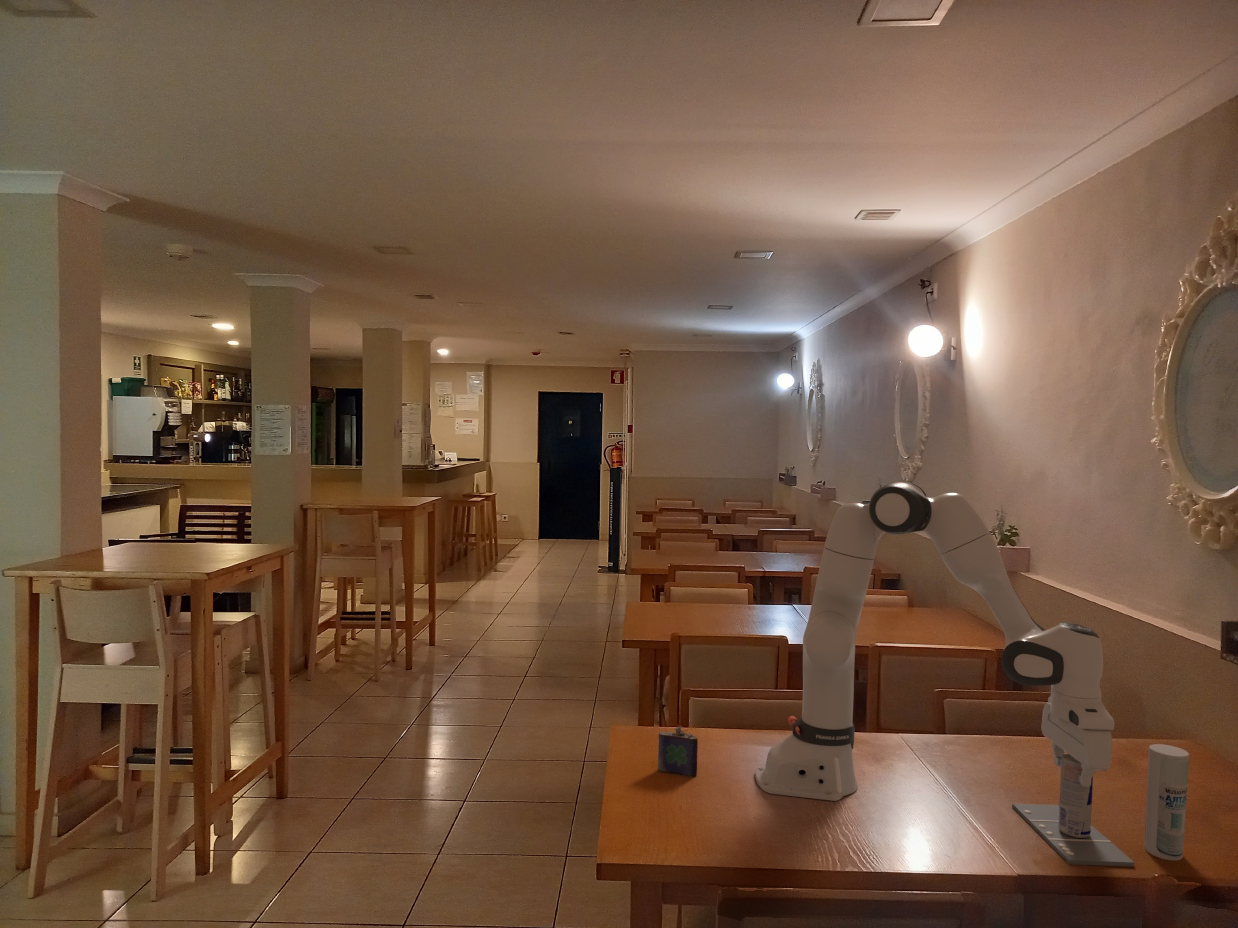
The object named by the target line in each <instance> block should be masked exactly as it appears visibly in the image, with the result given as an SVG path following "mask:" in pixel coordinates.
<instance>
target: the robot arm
mask: <svg viewBox="0 0 1238 928" xmlns="http://www.w3.org/2000/svg"><path fill="white" fill-rule="evenodd" d="M916 532H923V533H924V534H926V535H927V536H928V537H929V539H930V540H931V542H932V543H933V545H934V547H935V550H937V553H938V555H939V556H940V558H941V560H942V562H943V563H944V565H945V567H946V568H947V569H948V571H949V572H950V573H951V575H952V577H954V578H955V580H956V581H957V582H958V583H960V584H962V585H964V586H966V587H969V588H971V589H972V590H974V591H975V592H977V593H978V594H979V595H980V596H981V597H982V598H983V599H984V600H985V602H986V604H987V605H988V607H989V609H990V611H991V612H992V614H993V615H994V617H995V619H996V620H997V622H998V624H999V626H1000V627H1001V629H1002V631H1003V634H1004V638H1005V645H1004V648H1003V650H1002V653H1001V656H1000V657H1001V658H1000V661H1001V666H1002V667H1001V668H1002V670H1003V672H1004V673H1005V675H1006V676H1007V677H1008V678H1009V679H1010V680H1012V681H1013V682H1015V683H1017V684H1020V685H1023V686H1036V687H1037V686H1038V687H1039V686H1042V687H1043V686H1050V687H1051V689H1050V696H1048V698H1047V702H1046V703H1045V704H1044V705H1043V706H1044V707H1043V709H1042V715H1041V716H1042V718H1041V719H1042V720H1041V726H1040V727H1041V728H1040V729H1041V732H1042V735H1043V736H1044V737H1045V738H1047V740H1049V741H1051V748H1052V752H1053V756H1054V757H1053V758H1054V760H1053V761H1054V765H1056V766H1057V767H1059V768H1061V760H1062V755H1064V754H1065V753H1066V754H1069V755H1071V756H1072V757H1073V758H1075V759H1076V760H1077V761H1079V762H1080V763H1081V768H1082V769H1083V770H1082V773H1081V774H1078V782H1079V783H1080V784H1081V785H1082V786H1088V787H1089V786H1091V778H1092V777H1093V778H1094V774H1095V773H1096V772H1098V771H1099V772H1105V771H1108V770H1109V769H1110V767H1111V762H1112V753H1113V752H1112V750H1113V735H1112V733H1111V731H1112V730H1114V729H1115V720H1114V718H1113V716H1112V715H1110V713H1109V711H1108V710H1107V709H1106V707H1105V704H1104V703H1103V702H1102V689H1101V679H1102V677H1103V671H1104V670H1103V669H1104V649H1103V644H1102V640H1101V637H1100V636H1099V635H1098V633H1097V632H1095V631H1094V630H1093V629H1091V628H1089V627H1086V626H1084V625H1081V624H1076V623H1073V622H1060V623H1058V624H1057V625H1055V626H1053V627H1051V628H1048V629H1045V628H1044V627H1043V626H1041V625H1040V624H1039V623H1037V622H1036V621H1035V619H1034V618H1033V617H1032V616H1031V615H1030V613H1029V612H1028V610H1027V608H1026V606H1025V605H1024V603H1023V601H1022V600H1021V598H1020V596H1019V594H1018V593H1017V591H1016V590H1015V588H1014V586H1013V584H1012V582H1011V581H1010V578H1009V575H1008V573H1007V570H1006V567H1005V564H1004V560H1003V558H1002V556H1001V552H1000V550H999V547H998V545H997V543H996V541H995V539H994V537H993V534H992V533H991V531H990V530H989V528H988V527H987V525H986V523H985V522H984V520H983V518H982V517H981V515H980V514H979V513H978V512H977V510H976V509H975V508H974V506H973V505H972V504H971V503H970V502H969V500H968V499H967V498H966V497H965V496H964V495H962V494H960V493H959V492H958V493H957V492H946V493H942V494H940V495H937V496H935V497H928V496H927V494H926V492H925V491H924V489H922V488H921V487H920V486H918V485H916V484H915V483H914V482H913V483H912V482H909V481H901V480H900V481H892V482H889V483H887V484H885V485H883V486H881V487H880V488H878V489H877V490H875V492H874V493H873V494H872V496H871V498H870V501H869V502H868V503H861V502H848V503H846V504H845V503H844V504H842V505H841V506H839V508H837V509H836V511H835V514H834V516H833V518H832V520H831V523H830V526H829V528H828V532H827V535H826V538H825V542H824V547H823V551H822V556H821V558H820V559H821V560H820V564H819V569H818V573H817V577H816V581H815V588H814V592H813V597H812V601H811V606H810V612H809V616H808V619H807V624H806V627H805V629H804V633H803V637H802V702H801V703H802V704H801V705H802V707H801V709H802V710H801V717H800V718H798V719H797V718H796V716H794V715H790V716H789V717H788V718H787V722H788V724H789V726H790V727H791V728H792V732H791V733H792V734H790V735H788V736H787V737H785V738H784V739H782V740H781V741H779V742H777V743H776V744H775V745H773V746H771V748H770V749H769V750H768V753H767V756H766V761H765V764H762V765H759V766H758V767H757V768H756V769H755V776H754V777H755V778H754V779H755V781H756V783H757V785H758V786H759V788H761V789H762V790H763V791H764V792H766V793H768V794H771V795H780V796H788V797H797V798H798V797H799V798H806V799H807V798H808V799H815V800H823V801H833V802H836V801H837V802H838V801H839V800H840V799H842V798H843V797H844V796H849V795H851V794H852V793H854V792H856V791H857V789H858V787H859V786H858V782H857V779H856V773H855V768H854V767H855V766H854V758H853V757H854V756H853V750H854V744H855V731H856V730H855V724H854V722H853V716H854V715H853V712H854V711H853V710H854V692H855V691H854V689H855V688H854V685H855V682H854V681H855V657H856V639H857V632H858V628H859V623H860V619H861V616H862V611H863V606H864V604H865V599H866V596H867V592H868V588H869V583H870V580H871V576H872V571H873V566H874V564H875V563H874V562H875V557H876V552H877V549H878V545H879V542H880V539H881V538H882V536H883V535H884V534H890V535H905V534H910V533H916Z"/></svg>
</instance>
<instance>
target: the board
mask: <svg viewBox="0 0 1238 928" xmlns="http://www.w3.org/2000/svg"><path fill="white" fill-rule="evenodd" d="M1011 807H1012V808H1013V810H1014V811H1015V812H1016V813H1017V814H1018V815H1019V816H1020V817H1021V818H1022V819H1023V820H1024V821H1025V822H1026V823H1028V824H1029V826H1030V827H1031V828H1032V829H1033V830H1034V831H1036V833H1037V834H1038V835H1039V836H1040V837H1041V838H1042V839H1043V840H1044V841H1045V842H1046V843H1047V844H1048V846H1050V847H1051V848H1052V849H1053V850H1054V851H1055V852H1056V853H1057V854H1058V855H1059V856H1060V857H1061V858H1062V859H1063V860H1064V861H1065V862H1066V863H1067V864H1068V865H1080V866H1081V865H1082V866H1110V867H1131V868H1132V867H1133V868H1134V867H1135V861H1134V860H1132V859H1131V858H1130V857H1129V856H1128V855H1126V854H1125V853H1124V852H1123V851H1122V850H1121V849H1120V848H1119V847H1117V845H1116V844H1114V843H1113V842H1112V841H1111V840H1110V839H1108V838H1107V837H1106V836H1105V835H1104V834H1102V833H1101V831H1099V830H1098V829H1097V828H1095V827H1094V826H1093V825H1092V824H1091V833H1090V836H1088V837H1086V838H1076V837H1072V836H1069V835H1066V834H1065V833H1063V832H1062V831H1061V830H1060V829H1059V804H1035V803H1033V804H1032V803H1012V805H1011Z"/></svg>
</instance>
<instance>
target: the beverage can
mask: <svg viewBox="0 0 1238 928" xmlns="http://www.w3.org/2000/svg"><path fill="white" fill-rule="evenodd" d="M1082 770H1083V769H1082V768H1081V763H1080V762H1079V761H1077V760H1076V759H1075V758H1073V757H1072V756H1071V755H1069V754H1068V753H1064V755H1062V760H1061V767H1060V785H1059V786H1060V787H1059V803H1058V805H1059V829H1060V830H1061V831H1062V832H1063V833H1065V834H1066V835H1069V836H1072V837H1076V838H1086V837H1088V836H1090V833H1091V825H1092V805H1093V783H1094V780H1093V779H1094V776H1093V777H1092V778H1091V786H1089V787H1088V786H1082V785H1081V784H1080V783H1079V782H1078V774H1081V773H1082Z"/></svg>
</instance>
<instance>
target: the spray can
mask: <svg viewBox="0 0 1238 928" xmlns="http://www.w3.org/2000/svg"><path fill="white" fill-rule="evenodd" d="M1147 762H1148V763H1147V786H1146V787H1147V788H1146V804H1145V805H1146V807H1145V830H1144V850H1145V851H1146V852H1147V853H1148V854H1149V855H1152V856H1154V857H1156V858H1159V859H1161V860H1166V861H1167V860H1168V861H1180V860H1182V859H1183V857H1184V845H1185V844H1184V842H1185V829H1186V814H1187V813H1186V812H1187V797H1188V783H1189V782H1188V781H1189V770H1190V769H1189V766H1190V753H1189V752H1188V751H1187V750H1185V749H1184V748H1180V747H1177V746H1174V745H1170V744H1163V743H1162V744H1161V743H1156V744H1155V743H1153V744H1150V745H1149V746H1148V761H1147Z"/></svg>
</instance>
